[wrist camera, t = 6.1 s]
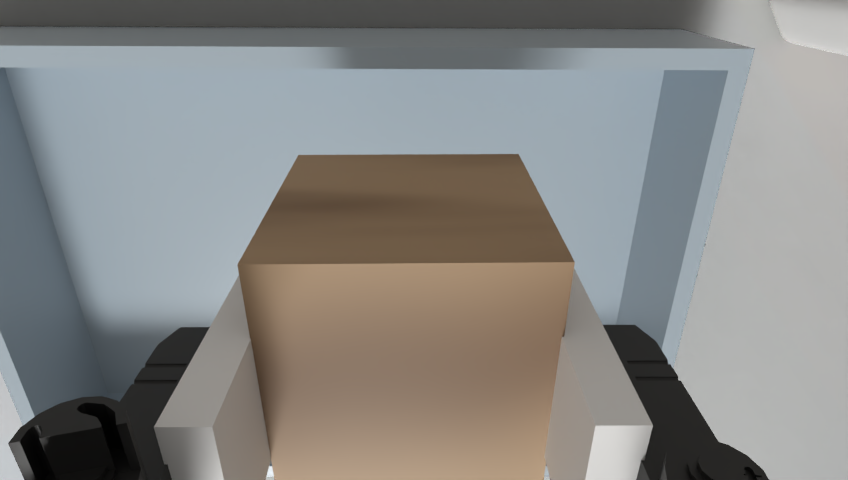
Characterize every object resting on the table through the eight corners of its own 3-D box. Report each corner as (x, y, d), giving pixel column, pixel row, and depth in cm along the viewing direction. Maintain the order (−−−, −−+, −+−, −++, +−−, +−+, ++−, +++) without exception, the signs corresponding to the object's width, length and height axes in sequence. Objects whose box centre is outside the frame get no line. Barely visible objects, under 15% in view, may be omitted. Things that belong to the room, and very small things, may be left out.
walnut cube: (503, 332, 15) (542, 492, 11) (317, 334, 15) (277, 495, 11) (518, 154, 13) (574, 262, 8) (298, 154, 13) (237, 265, 8)
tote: (681, 29, 20) (754, 48, 16) (609, 394, 28) (645, 476, 24) (-14, 26, 20) (-137, 44, 16) (104, 394, 28) (44, 476, 24)
